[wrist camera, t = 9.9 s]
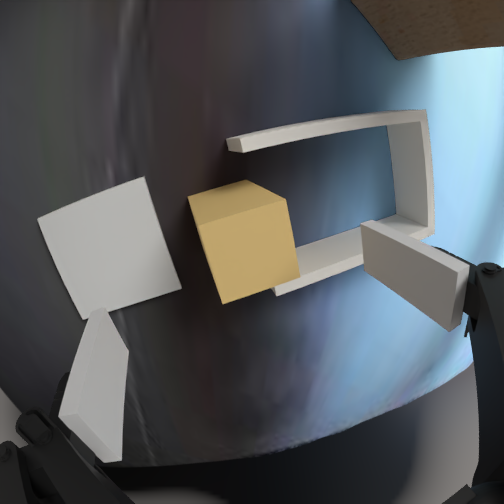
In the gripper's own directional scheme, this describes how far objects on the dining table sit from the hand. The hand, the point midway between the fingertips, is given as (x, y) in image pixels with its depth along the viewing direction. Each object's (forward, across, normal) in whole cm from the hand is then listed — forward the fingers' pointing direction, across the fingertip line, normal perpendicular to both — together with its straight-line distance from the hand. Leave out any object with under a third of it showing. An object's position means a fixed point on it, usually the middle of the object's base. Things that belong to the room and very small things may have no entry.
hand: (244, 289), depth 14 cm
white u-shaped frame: (+12, +12, 0) cm, 17 cm away
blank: (+12, +1, 0) cm, 12 cm away
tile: (+12, -9, 0) cm, 15 cm away
